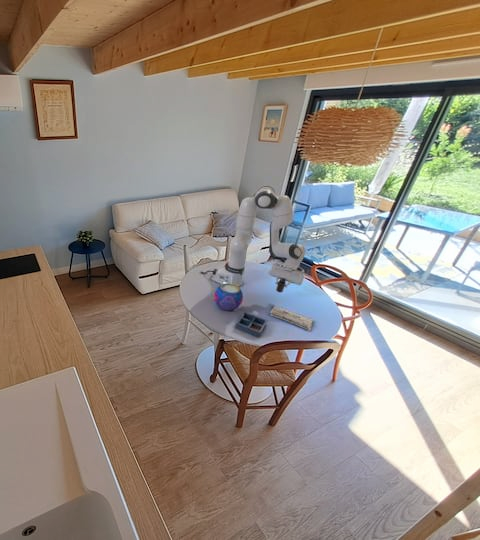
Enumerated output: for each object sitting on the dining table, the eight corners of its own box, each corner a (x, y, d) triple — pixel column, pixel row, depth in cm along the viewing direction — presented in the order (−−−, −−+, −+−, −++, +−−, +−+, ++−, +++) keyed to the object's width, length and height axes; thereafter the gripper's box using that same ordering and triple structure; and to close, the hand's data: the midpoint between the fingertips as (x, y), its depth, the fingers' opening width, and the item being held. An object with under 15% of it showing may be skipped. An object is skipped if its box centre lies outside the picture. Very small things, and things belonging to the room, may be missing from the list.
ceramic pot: (239, 301, 192) (244, 282, 185) (240, 317, 178) (245, 297, 170) (213, 296, 197) (216, 278, 190) (211, 312, 183) (215, 292, 175)
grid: (235, 327, 169) (236, 323, 168) (243, 316, 178) (244, 312, 177) (258, 337, 162) (260, 332, 160) (265, 325, 171) (267, 320, 169)
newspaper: (268, 315, 179) (269, 312, 178) (274, 308, 187) (275, 305, 186) (309, 331, 165) (310, 328, 164) (313, 323, 174) (314, 319, 173)
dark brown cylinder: (275, 290, 191) (279, 278, 186) (276, 288, 193) (280, 276, 188) (281, 293, 188) (286, 280, 184) (283, 290, 191) (287, 278, 186)
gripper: (273, 260, 193) (264, 278, 192) (307, 271, 181) (297, 290, 180) (274, 264, 198) (265, 281, 197) (306, 274, 186) (297, 293, 185)
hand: (280, 285), depth 188 cm, fingers closed on dark brown cylinder, 4 cm apart
